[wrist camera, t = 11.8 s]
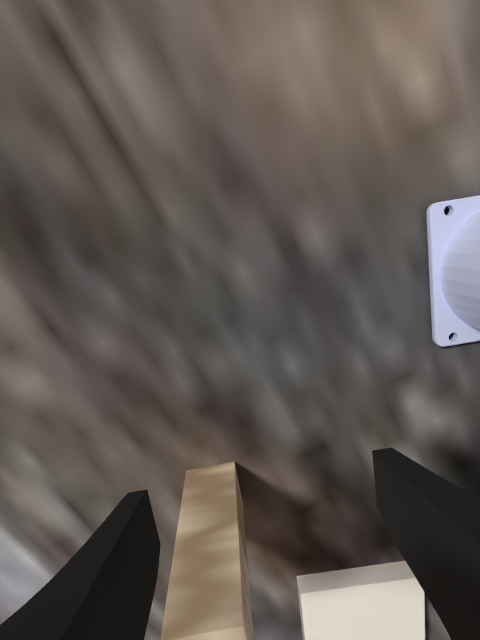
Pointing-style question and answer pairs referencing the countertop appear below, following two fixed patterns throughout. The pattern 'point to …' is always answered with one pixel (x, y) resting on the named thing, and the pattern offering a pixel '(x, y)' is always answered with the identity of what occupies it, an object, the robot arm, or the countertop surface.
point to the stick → (209, 561)
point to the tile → (362, 604)
